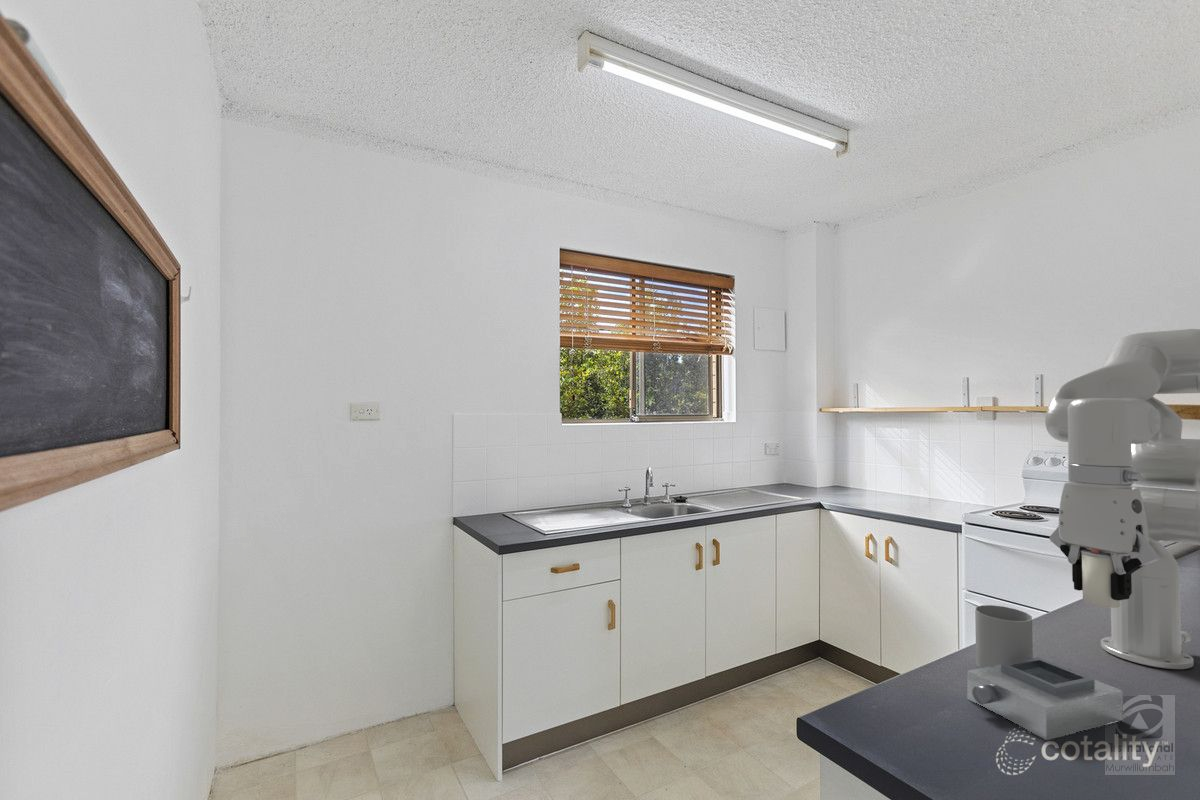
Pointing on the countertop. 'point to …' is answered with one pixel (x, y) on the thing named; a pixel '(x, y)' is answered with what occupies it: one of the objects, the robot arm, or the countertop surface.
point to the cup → (1002, 635)
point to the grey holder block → (1045, 697)
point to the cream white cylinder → (1097, 578)
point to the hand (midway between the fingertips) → (1101, 592)
